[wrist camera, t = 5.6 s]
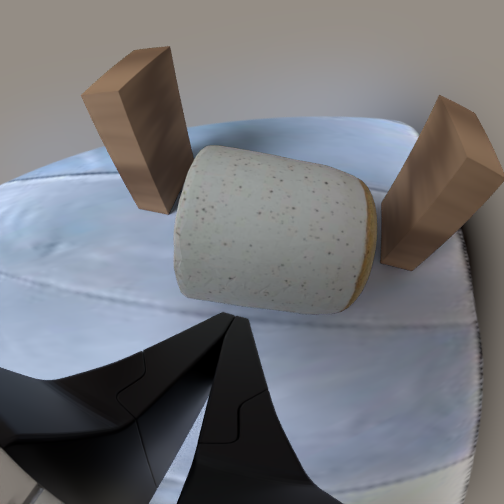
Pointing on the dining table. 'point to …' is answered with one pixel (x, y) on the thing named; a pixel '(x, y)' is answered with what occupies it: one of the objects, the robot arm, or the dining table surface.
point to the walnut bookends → (393, 206)
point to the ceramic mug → (273, 233)
